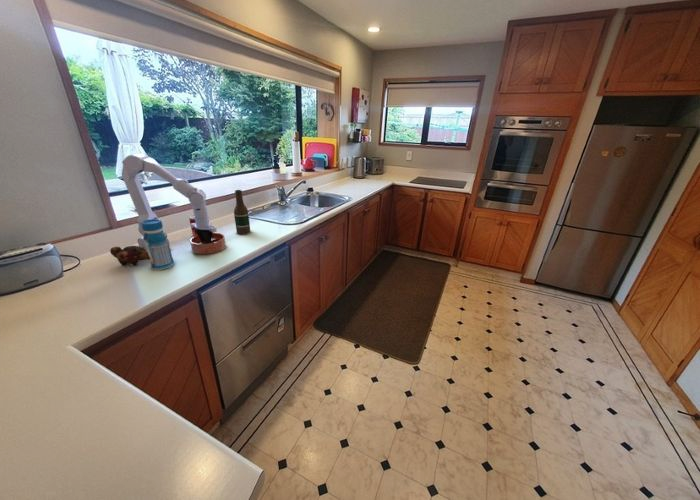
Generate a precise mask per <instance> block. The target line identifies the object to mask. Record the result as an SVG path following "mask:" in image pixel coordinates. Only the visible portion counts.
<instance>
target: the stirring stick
mask: <svg viewBox="0 0 700 500" xmlns="http://www.w3.org/2000/svg"><path fill="white" fill-rule="evenodd" d="M214 242H216V239H213V238H212V239H211V243H214ZM199 244H206V242H205V241H204V242H201V243H199Z"/></svg>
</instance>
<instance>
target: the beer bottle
mask: <svg viewBox="0 0 700 500" xmlns="http://www.w3.org/2000/svg"><path fill="white" fill-rule="evenodd" d="M234 194H235V202H236V203H235V207H234V210H233V216H234V224H235V230H236V234H237V235H241V236H242V235H248V234H250V233H251V224H250V223H251V222H250V216H249V210H248V207H247V206H246V205H245V203H244V199H243V191H242V189H235V191H234Z"/></svg>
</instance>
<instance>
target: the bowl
mask: <svg viewBox="0 0 700 500" xmlns="http://www.w3.org/2000/svg"><path fill="white" fill-rule="evenodd" d="M212 238H213V239H216V242H214V243H208V244H199V243H201V240H200V238H199V237H198V235H197V236H192V237H191V238H190V239H189V243H190V247H191V251H192V252H193V253H194V254H197V255H212V254H216V253H219V252H222V250H224V249H225V248H226V247H227V242H226V238H225V235H224V234H222V233H219V232H214V233H213V234H212ZM212 238H211V239H212Z"/></svg>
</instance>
